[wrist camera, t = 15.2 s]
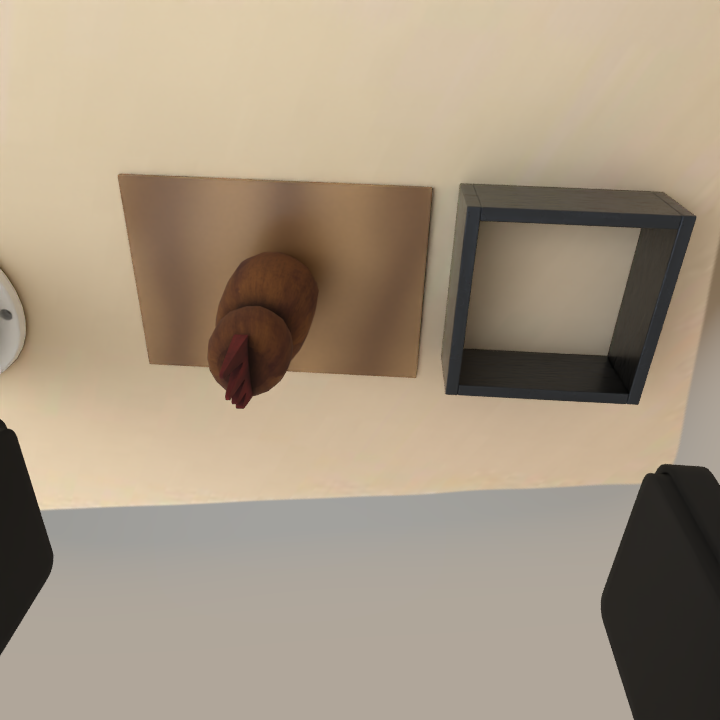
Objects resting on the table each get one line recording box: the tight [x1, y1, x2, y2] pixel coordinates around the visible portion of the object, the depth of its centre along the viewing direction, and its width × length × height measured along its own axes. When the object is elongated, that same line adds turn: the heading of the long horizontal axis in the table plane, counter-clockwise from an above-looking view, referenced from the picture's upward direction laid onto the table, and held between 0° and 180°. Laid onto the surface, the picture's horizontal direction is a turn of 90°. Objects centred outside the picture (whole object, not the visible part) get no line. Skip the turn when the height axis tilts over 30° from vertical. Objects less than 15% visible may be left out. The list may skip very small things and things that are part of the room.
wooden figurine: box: [207, 252, 319, 409], centre depth 36 cm, size 7×6×15 cm
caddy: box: [441, 184, 696, 405], centre depth 39 cm, size 13×13×5 cm
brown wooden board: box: [118, 174, 432, 378], centre depth 43 cm, size 20×14×1 cm
